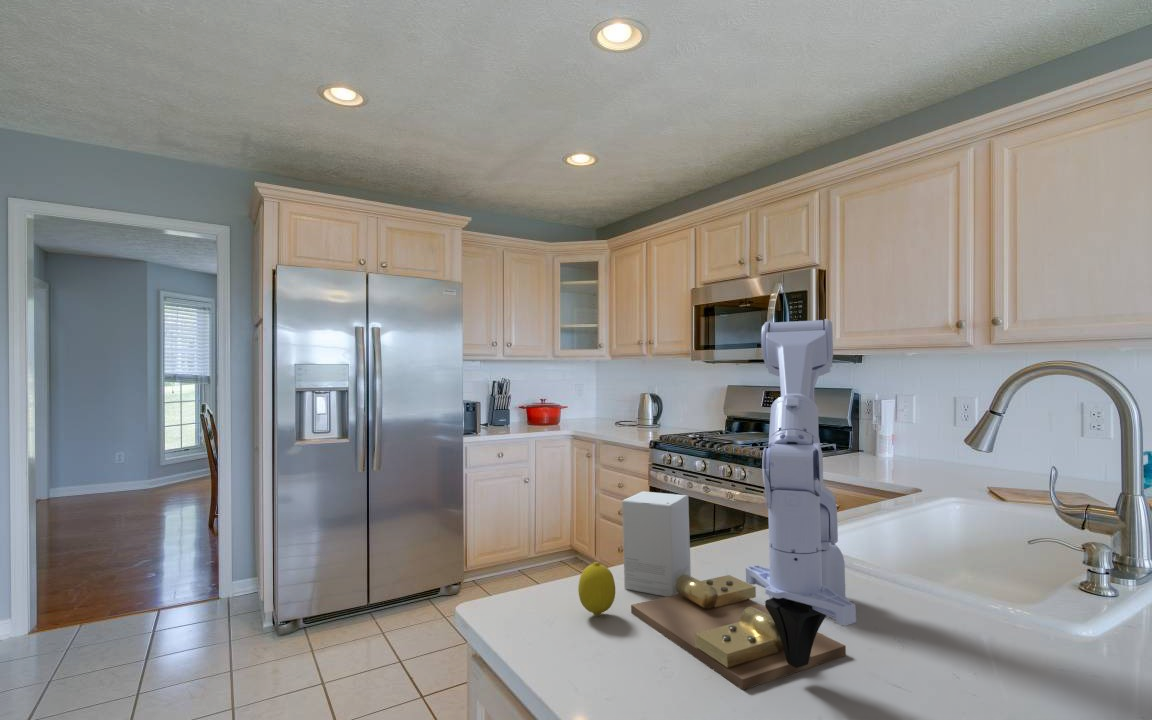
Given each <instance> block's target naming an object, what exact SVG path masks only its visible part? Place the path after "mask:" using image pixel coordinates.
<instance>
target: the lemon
mask: <svg viewBox="0 0 1152 720" xmlns="http://www.w3.org/2000/svg"><path fill="white" fill-rule="evenodd" d="M577 587H578V590H577V591H578V597H579V601H580V604H582V606H583V608H584V609H585V610H586V611H588V612H589V613H592V614H593V616H595V617H599V616H600V615H602V613H605V612H606V611H608V610H609V609H610V608H611V607H612V605H613V603H614V601H615V598H616V582H615V579H614V575H613V573H612V571H611V570H610V569H609V568H608V567H607V566H606V565H603V564H602V563H600V562H598V561H593V563H591V564H589V565H587V566H586V568H584V569H583V571H582V572H581V574H580V577H579V581H578V586H577Z"/></svg>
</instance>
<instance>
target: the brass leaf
mask: <svg viewBox="0 0 1152 720" xmlns="http://www.w3.org/2000/svg"><path fill="white" fill-rule="evenodd" d="M695 646H696V647H697V648H699V649H700V650H702V651H703V652H705V653H706V654H708V655H709V656H711V657H712V658H714V659H715V660H717V661H718V662H720V663H721V664H723V665H724V666H726V667H727V668H728V667H731V666H735V665H738V664H741V663H744V662H747V661H751V660H754V659H757V658H760V657H764V656H767V655H770V654H773V653H776V652H778V650H784V649H783V645H782V642H781V639H780V636H779V633H778V630H777V628H776V625H775V623H774V621H773V619H772V617H771V616H770V615H768V614H766V613H764V612H762V611H760V610H758V609H756V608H754V607H748V608H746V609H745V610H744V611H743V612H742V614H741V618H740V622H737V623H733V624H729V625H725V626H722V627H718V628H714V629H711V630H707V631H703V632H699V633H696V634H695Z"/></svg>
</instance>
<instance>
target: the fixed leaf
mask: <svg viewBox="0 0 1152 720" xmlns="http://www.w3.org/2000/svg"><path fill="white" fill-rule="evenodd" d="M756 587H757V586H755V585H751V584H749V583H747V582H746V581H743V580H741V579H739V578H737V577H735V576H732V575H731V574H726V575H722V576H717V577H713V578H709V579H704V580H700V579H697V578H695V577H693V576H692V575H691V576H689V575H687V574H684V575H681V576H680V577H679V578H678V579H677V581H676V590H677V592H678V593H677V594H680V595H682V596H683V597H685V598H687V599H689V600H691V601H692V602H694V603H696V604H698V605H700V606H701V607H703V608H705V609H710V608H712V607H719V606H723V605H727V604H731V603H735V602H739V601H743V600H747V599H750V600H752V599H754V598H757V592H756V590H757V589H756Z"/></svg>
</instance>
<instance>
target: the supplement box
mask: <svg viewBox="0 0 1152 720" xmlns="http://www.w3.org/2000/svg"><path fill="white" fill-rule="evenodd" d="M621 509H622V511H621V512H622V513H621V514H622V541H623V543H622V545H623V546H622V547H623V574H624V578H623V581H624V583H623V584H624V590H629V591H635V592H639V593H645V594H651V595H656V596H661V597H668V596H672V595H677V594H679V593H678V592H677V590H676V581H677V579H678V578H679V577H680V576H681V575H684V574H687V575H689V576H691V577H692V571H691V543H690V542H691V541H690V540H691V539H690V515H689V513H690V505H689V495H685V494H676V493H665V492H655V491H653V492H652V491H644V490H642V491H640V492H638V493H636V494H634V495H632V496H629V497H627V498H625V499H623V500H621Z"/></svg>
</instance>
